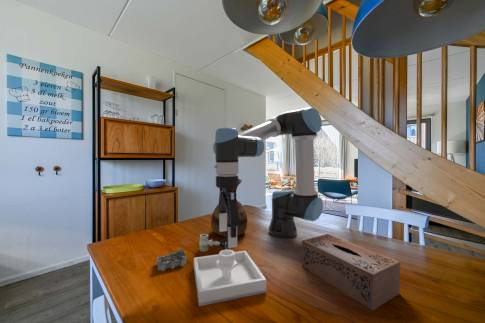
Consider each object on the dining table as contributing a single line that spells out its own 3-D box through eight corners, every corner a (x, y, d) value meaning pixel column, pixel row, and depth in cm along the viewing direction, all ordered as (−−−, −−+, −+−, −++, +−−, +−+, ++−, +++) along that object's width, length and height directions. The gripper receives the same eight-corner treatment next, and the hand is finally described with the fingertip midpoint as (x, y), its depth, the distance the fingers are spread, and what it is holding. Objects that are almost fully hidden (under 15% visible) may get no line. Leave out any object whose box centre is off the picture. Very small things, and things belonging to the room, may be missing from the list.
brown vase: (212, 241, 99) (213, 180, 98) (209, 227, 118) (209, 176, 118) (251, 238, 103) (252, 179, 103) (242, 225, 123) (242, 175, 122)
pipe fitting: (235, 282, 65) (235, 257, 65) (213, 281, 66) (214, 256, 66) (238, 271, 72) (238, 249, 72) (218, 270, 72) (218, 248, 72)
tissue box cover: (301, 266, 78) (302, 240, 77) (327, 257, 85) (327, 233, 84) (372, 311, 55) (373, 274, 55) (399, 294, 62) (400, 261, 62)
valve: (197, 253, 87) (224, 254, 86) (197, 238, 87) (224, 239, 86) (201, 246, 94) (227, 247, 93) (201, 232, 94) (227, 233, 93)
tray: (245, 260, 81) (245, 250, 81) (266, 292, 62) (266, 279, 62) (193, 268, 75) (193, 257, 75) (199, 306, 56) (199, 292, 56)
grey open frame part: (184, 257, 84) (184, 247, 84) (187, 266, 77) (187, 255, 77) (156, 263, 79) (156, 252, 79) (156, 273, 72) (157, 261, 72)
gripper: (210, 172, 79) (210, 227, 79) (224, 179, 55) (224, 257, 55) (229, 171, 81) (229, 224, 82) (250, 178, 57) (250, 253, 58)
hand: (227, 238), depth 68 cm, fingers open, 13 cm apart
